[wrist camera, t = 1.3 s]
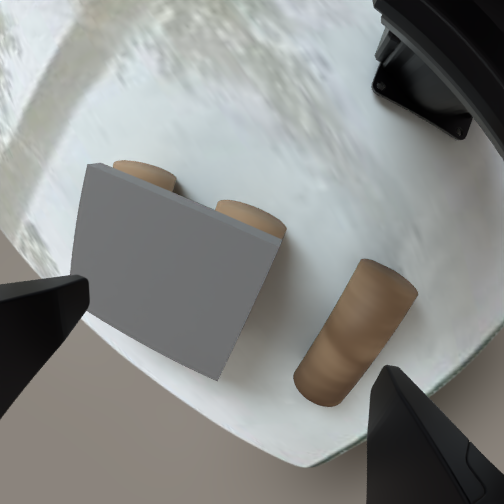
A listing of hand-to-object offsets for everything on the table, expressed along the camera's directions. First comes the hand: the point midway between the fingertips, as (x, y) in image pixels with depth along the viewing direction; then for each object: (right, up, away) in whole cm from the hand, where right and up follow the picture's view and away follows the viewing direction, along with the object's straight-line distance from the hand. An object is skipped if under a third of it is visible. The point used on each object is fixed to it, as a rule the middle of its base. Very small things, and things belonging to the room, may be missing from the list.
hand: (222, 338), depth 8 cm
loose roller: (+7, -3, +10) cm, 13 cm away
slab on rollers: (-4, +2, +13) cm, 13 cm away
